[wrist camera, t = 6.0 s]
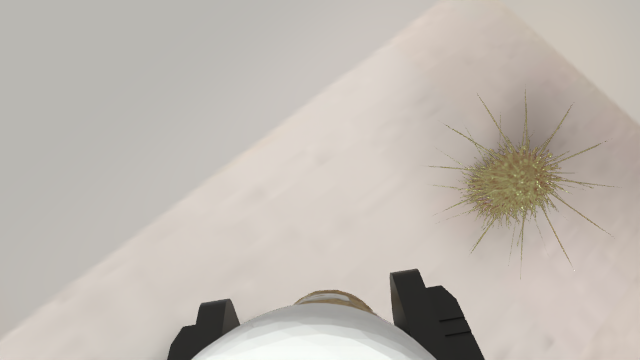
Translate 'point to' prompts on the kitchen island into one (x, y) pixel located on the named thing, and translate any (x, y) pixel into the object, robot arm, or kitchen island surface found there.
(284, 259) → the kitchen island surface
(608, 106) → the kitchen island surface
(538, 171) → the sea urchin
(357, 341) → the sprinkles bottle
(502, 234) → the kitchen island surface
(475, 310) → the kitchen island surface
